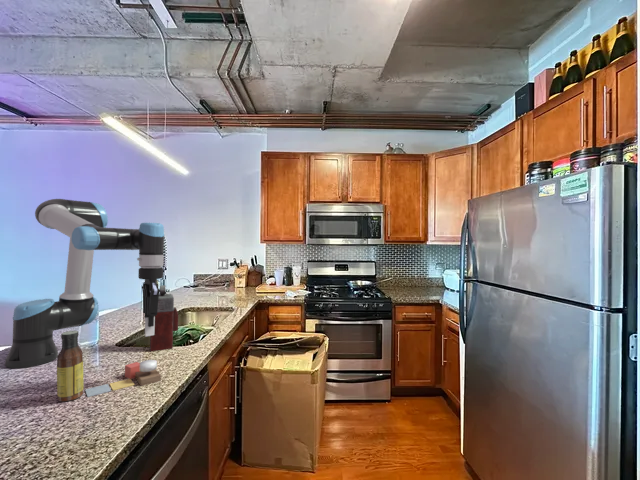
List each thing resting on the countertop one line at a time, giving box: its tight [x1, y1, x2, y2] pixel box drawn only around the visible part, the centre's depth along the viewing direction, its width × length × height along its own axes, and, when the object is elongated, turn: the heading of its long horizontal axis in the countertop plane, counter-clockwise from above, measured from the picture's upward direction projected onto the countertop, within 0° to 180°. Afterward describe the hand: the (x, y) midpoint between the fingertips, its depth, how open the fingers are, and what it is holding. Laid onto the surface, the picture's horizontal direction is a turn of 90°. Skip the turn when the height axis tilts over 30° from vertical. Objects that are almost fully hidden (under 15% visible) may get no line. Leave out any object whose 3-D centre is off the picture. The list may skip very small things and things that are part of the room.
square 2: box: [109, 378, 135, 391], centre depth 103 cm, size 6×6×1 cm
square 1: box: [84, 383, 112, 398], centre depth 98 cm, size 6×6×1 cm
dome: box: [139, 359, 158, 372], centre depth 107 cm, size 5×5×2 cm
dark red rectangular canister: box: [149, 284, 179, 353], centre depth 141 cm, size 9×11×28 cm
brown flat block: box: [134, 368, 162, 387], centre depth 107 cm, size 8×6×2 cm
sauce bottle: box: [56, 330, 85, 403], centre depth 94 cm, size 6×6×20 cm
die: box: [124, 361, 141, 380], centre depth 110 cm, size 4×4×4 cm
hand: (149, 335), depth 107 cm, fingers closed
